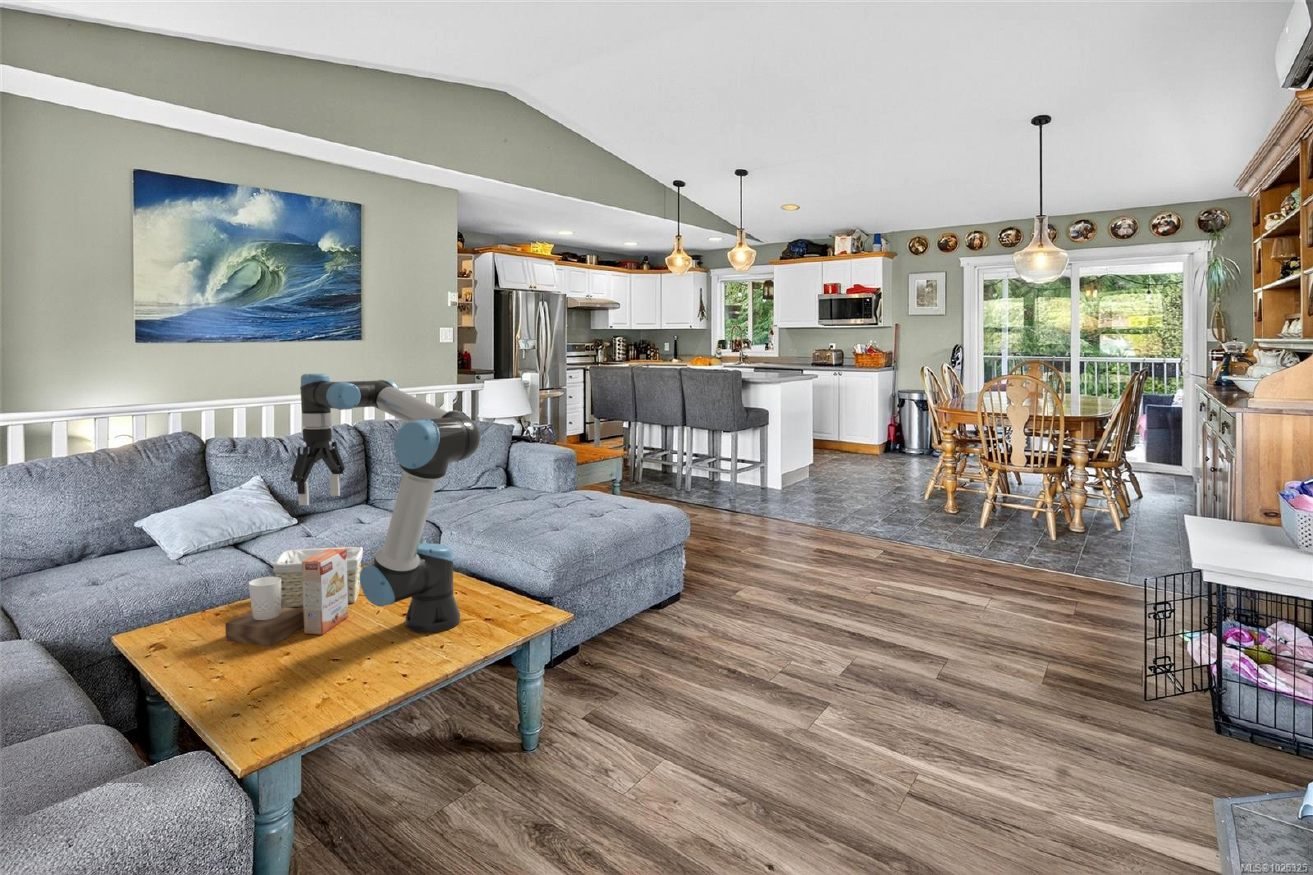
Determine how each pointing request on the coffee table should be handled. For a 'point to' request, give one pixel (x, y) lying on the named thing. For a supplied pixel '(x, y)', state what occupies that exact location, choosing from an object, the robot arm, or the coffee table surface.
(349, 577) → the storage basket
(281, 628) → the walnut block
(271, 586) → the white cup
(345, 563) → the cracker box
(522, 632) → the coffee table surface
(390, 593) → the robot arm
